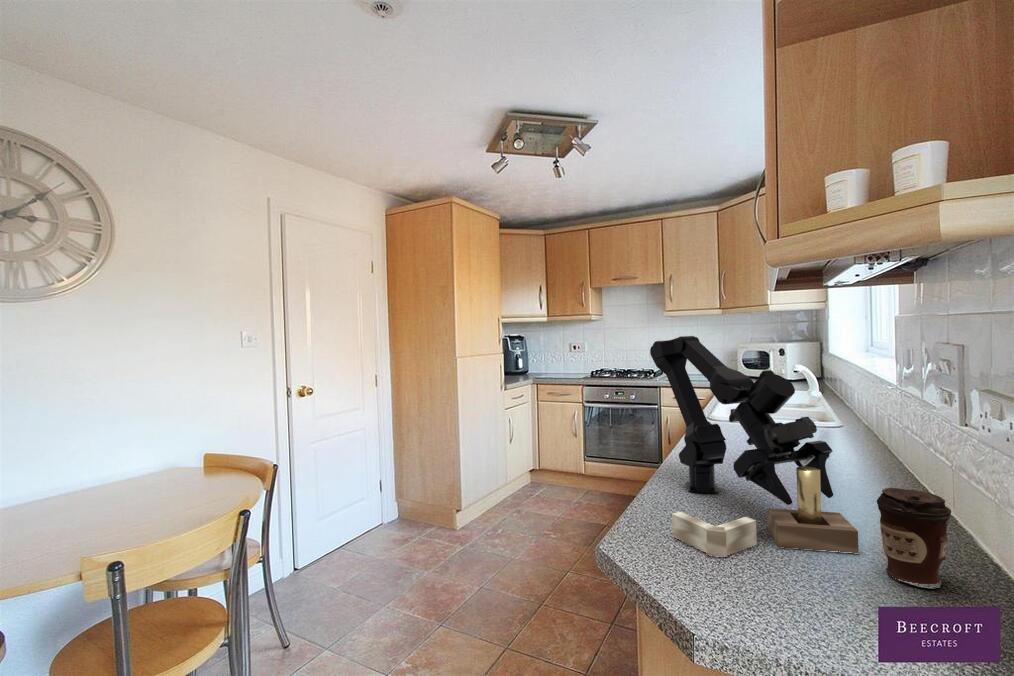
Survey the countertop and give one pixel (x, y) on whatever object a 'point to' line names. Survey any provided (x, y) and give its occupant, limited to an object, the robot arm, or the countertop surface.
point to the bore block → (812, 531)
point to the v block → (715, 534)
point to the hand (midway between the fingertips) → (811, 500)
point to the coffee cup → (913, 534)
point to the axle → (808, 495)
